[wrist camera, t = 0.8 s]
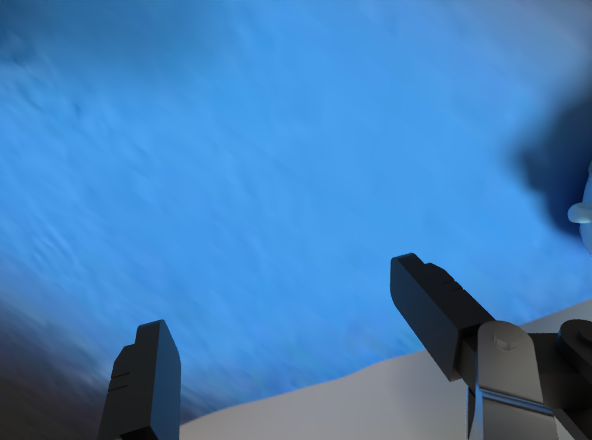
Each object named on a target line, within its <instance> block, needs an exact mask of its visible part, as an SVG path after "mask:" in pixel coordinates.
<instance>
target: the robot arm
mask: <svg viewBox="0 0 592 440" xmlns="http://www.w3.org/2000/svg"><path fill="white" fill-rule="evenodd" d="M390 292H391V297H392V300H393V302H394V304H395V306H396V308H397V309H398V310H399V312H400V313H401V315H402V316H403V317H404V319H405V320H406V322H407V323H408V324H409V326H410V327H411V329H412V330H413V331H414V333H415V334H416V335H417V337H418V338H419V340H420V341H421V342H422V344H423V345H424V347H425V348H426V349H427V351H428V352H429V353H430V355H431V356H432V358H433V359H434V361H435V362H436V363H437V365H438V366H439V367H440V369H441V370H442V372H443V373H444V374H445V376H446V377H447V379H448V380H449V381H450V382H452V381H455V380H458V379H461V378H462V379H463V380H464V381H465V383H466V384H467V390H466V438H465V440H559V439H558V434H557V429H556V423H555V418H554V416H555V417H556V418H557V419H558V420H559V422H560V423H561V424H562V425H563V426H564V427H565V429H566V430H567V431H568V432H569V433H570V435H571V436H572V437H573V438H574V439H575V440H592V322H591V321H587V320H580V319H573V320H569V321H566V322H564V323H563V324H562V325H561V328H560V330H559V333H526V332H525V331H524V330H522V329H521V328H520V327H518V326H516V325H514V324H511V323H509V322H505V321H496V320H495V319H494V318H493V317H492V316H491V315H490V314H489V313H488V312H487V311H486V310H485V309H484V308H483V307H482V306H481V305H480V304H479V303H478V302H477V301H476V300H475V299H474V298H473V297H472V296H471V295H470V294H469V293H468V292H467V291H466V290H465V289H464V290H463V288H462V286H461V285H460V284H458V283H457V282H455V281H454V279H453V278H452V277H451V276H450V275H449V274H448V273H447V272H446V271H445V270H444V269H442V268H440V267H438V266H436V265H434V264H432V263H427V264H424V263H423V262H422V261H421V260H420V259H419V258H418V257H417V255H415V254H414V253H409V254H405V255H401V256H397V257H394V258H392V259H391V272H390ZM180 389H181V362H180V357H179V353H178V350H177V347H176V345H175V343H174V341H173V338H172V336H171V334H170V331H169V329H168V327H167V325H166V323H165V321H164V320H163V319H161V320H158V321H154V322H150V323H147V324H143V325H140V326H138V328H137V333H136V339H135V344H132V345H128V346H125V347H124V348H123V349H122V351H121V352H120V354H119V356H118V357H117V359H116V360H115V362H114V366H113V370H112V375H111V381H110V384H109V388H108V394H107V397H106V402H105V406H104V411H103V415H102V420H101V424H100V429H99V433H98V437H97V440H179V427H180Z"/></svg>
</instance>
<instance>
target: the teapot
mask: <svg viewBox="0 0 592 440" xmlns="http://www.w3.org/2000/svg"><path fill="white" fill-rule="evenodd" d="M588 174H589V178H588V180H587V183H586V187H585V191H584V195H583V200H582V203H577V204H574V205H573V206H571V207H570V209H569V210H568V218H569V220H570V221H571V222H575V223H580V227H579V233H580V235H581V236H582V239H583V242H584V245H585V247H586V249H587V251H588V252H589V254H590V255H591V256H592V161H591V162H590V164H589V166H588Z"/></svg>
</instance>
